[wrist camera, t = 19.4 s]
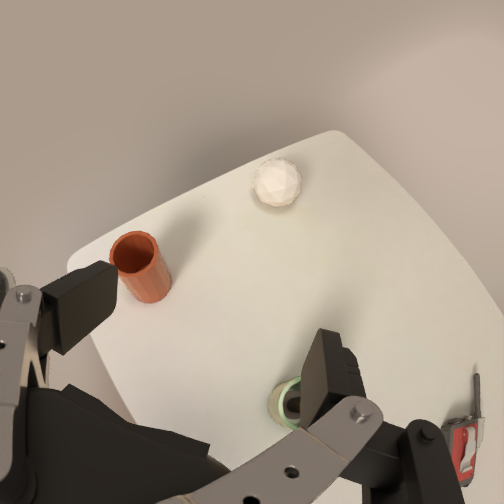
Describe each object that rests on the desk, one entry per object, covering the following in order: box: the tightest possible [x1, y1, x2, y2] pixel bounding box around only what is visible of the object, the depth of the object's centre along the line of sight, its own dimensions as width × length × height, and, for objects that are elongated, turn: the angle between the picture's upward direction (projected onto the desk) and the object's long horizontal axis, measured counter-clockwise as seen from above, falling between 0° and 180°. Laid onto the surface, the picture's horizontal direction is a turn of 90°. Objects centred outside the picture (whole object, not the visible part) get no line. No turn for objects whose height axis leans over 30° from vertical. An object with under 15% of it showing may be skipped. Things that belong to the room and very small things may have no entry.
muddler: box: [283, 390, 301, 419], centre depth 27 cm, size 4×4×16 cm
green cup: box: [268, 376, 301, 431], centre depth 31 cm, size 6×6×9 cm
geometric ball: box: [253, 158, 302, 207], centre depth 47 cm, size 8×8×8 cm
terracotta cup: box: [109, 231, 171, 303], centre depth 38 cm, size 6×6×9 cm
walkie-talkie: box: [441, 373, 485, 487], centre depth 30 cm, size 9×4×20 cm
